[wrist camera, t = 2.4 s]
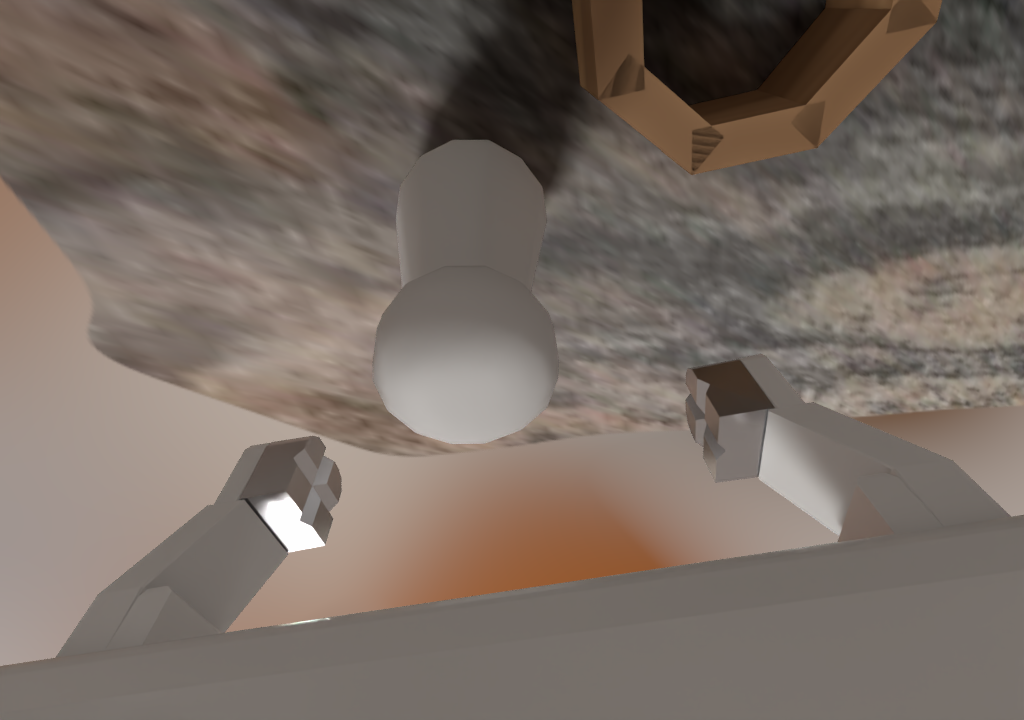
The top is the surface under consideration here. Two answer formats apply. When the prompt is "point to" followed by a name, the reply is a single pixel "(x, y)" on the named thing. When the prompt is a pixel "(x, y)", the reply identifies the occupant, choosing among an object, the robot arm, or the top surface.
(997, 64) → the top surface
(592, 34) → the walnut ring
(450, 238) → the salt shaker
